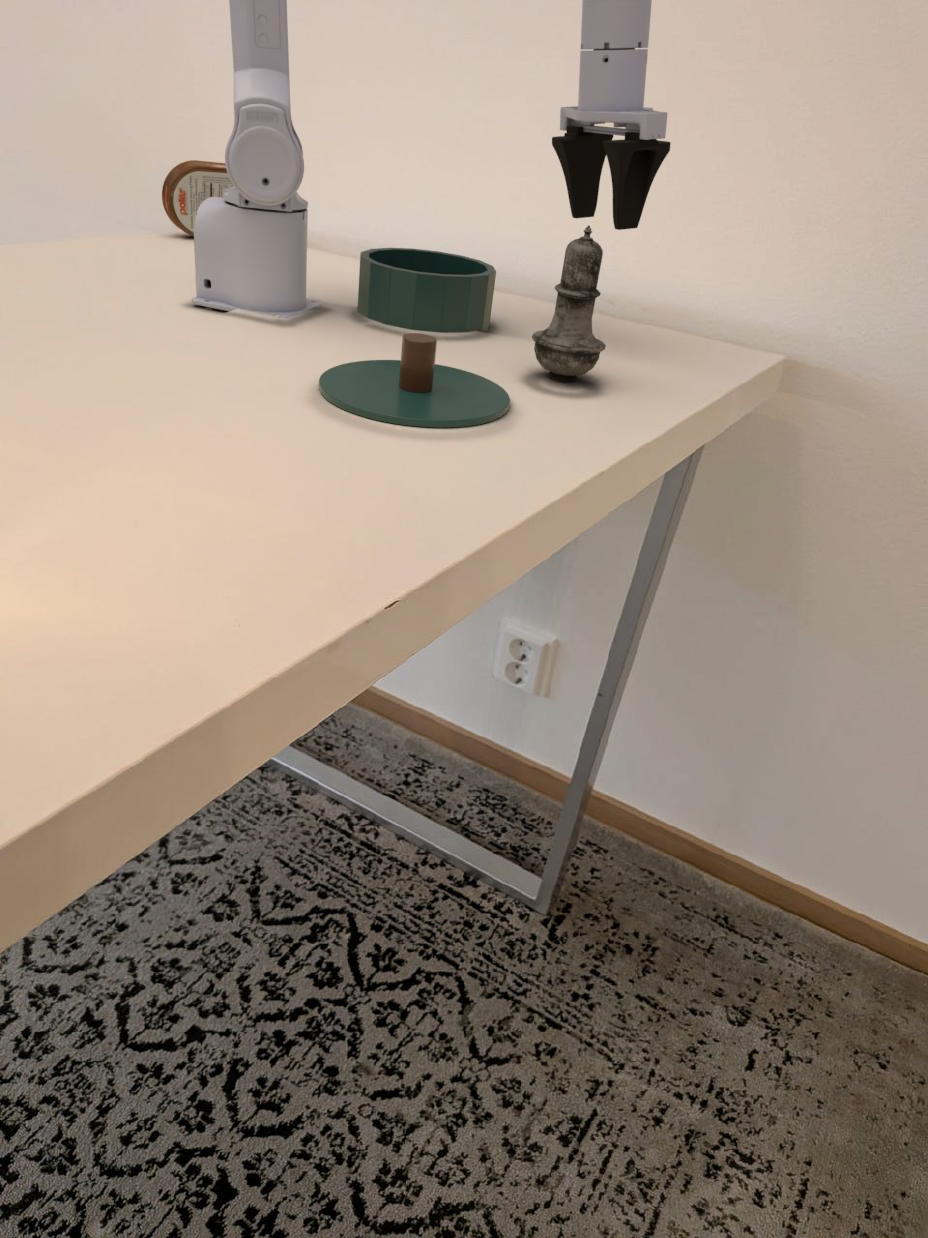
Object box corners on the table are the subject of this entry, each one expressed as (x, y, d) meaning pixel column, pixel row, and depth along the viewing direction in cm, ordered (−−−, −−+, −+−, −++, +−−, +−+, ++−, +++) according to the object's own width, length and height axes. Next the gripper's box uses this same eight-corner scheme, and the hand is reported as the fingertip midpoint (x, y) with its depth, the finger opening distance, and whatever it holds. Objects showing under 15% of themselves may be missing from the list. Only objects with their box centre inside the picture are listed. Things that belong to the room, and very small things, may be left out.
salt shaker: (550, 397, 68) (578, 230, 62) (512, 374, 72) (534, 216, 66) (611, 394, 71) (644, 234, 64) (571, 372, 75) (598, 220, 69)
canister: (335, 320, 81) (338, 258, 78) (386, 298, 91) (390, 242, 89) (465, 346, 78) (472, 283, 75) (502, 320, 89) (510, 263, 86)
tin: (281, 237, 115) (282, 165, 110) (290, 242, 112) (290, 169, 108) (163, 233, 108) (158, 156, 103) (169, 238, 105) (165, 160, 101)
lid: (284, 408, 59) (284, 339, 57) (364, 363, 70) (367, 303, 68) (476, 451, 56) (485, 380, 54) (527, 397, 68) (537, 336, 65)
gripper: (704, 47, 71) (685, 229, 78) (609, 49, 82) (600, 209, 89) (630, 49, 68) (617, 236, 76) (542, 51, 80) (538, 215, 87)
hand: (603, 222), depth 82 cm, fingers open, 7 cm apart
